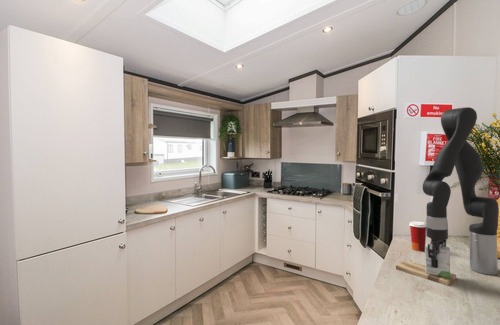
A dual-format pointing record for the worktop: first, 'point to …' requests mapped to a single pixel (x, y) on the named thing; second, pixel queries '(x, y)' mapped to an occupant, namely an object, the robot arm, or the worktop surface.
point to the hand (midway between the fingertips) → (437, 265)
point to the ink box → (439, 263)
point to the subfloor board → (423, 272)
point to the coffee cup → (418, 235)
